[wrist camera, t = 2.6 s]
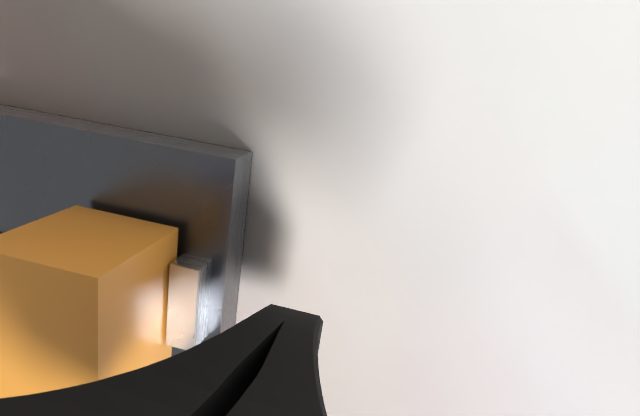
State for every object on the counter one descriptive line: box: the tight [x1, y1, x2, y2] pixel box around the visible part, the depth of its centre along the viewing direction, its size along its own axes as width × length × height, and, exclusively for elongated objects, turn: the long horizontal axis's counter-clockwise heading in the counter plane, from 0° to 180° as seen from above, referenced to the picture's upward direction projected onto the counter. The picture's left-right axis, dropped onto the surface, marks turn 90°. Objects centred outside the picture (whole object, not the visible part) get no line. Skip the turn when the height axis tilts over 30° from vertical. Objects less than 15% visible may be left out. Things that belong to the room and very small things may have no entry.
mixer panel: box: [0, 104, 252, 356], centre depth 16 cm, size 16×15×2 cm
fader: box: [0, 205, 178, 398], centre depth 12 cm, size 4×3×3 cm
